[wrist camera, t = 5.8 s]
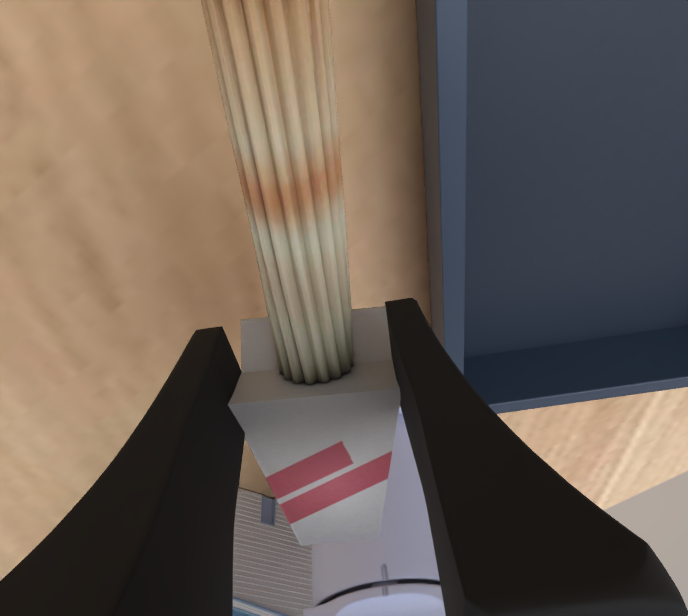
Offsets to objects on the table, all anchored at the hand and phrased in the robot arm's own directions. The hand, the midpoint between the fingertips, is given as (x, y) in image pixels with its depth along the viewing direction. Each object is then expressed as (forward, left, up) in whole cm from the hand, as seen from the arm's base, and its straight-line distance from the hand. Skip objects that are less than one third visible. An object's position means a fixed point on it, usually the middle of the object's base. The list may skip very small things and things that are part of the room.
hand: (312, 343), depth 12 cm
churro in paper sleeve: (0, 0, -2) cm, 2 cm away
